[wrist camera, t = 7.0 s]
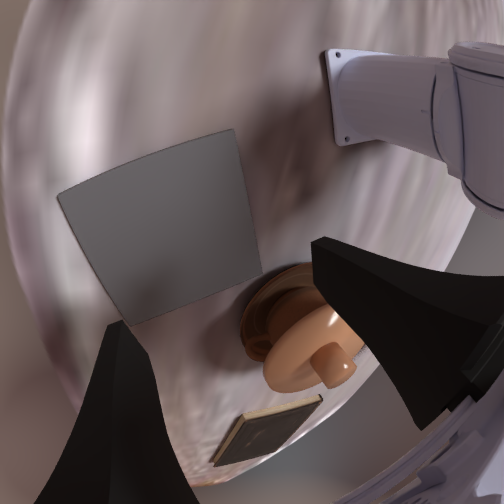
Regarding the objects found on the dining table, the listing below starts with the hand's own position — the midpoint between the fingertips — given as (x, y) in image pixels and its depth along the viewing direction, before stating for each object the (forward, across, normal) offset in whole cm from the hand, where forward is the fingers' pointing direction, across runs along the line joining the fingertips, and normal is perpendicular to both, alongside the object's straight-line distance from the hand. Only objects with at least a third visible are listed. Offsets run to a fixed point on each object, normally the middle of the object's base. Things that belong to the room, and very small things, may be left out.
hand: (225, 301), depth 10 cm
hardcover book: (+11, +2, +47) cm, 49 cm away
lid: (+4, -7, +14) cm, 16 cm away
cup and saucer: (+11, -7, +14) cm, 19 cm away
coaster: (+10, +1, +2) cm, 11 cm away
